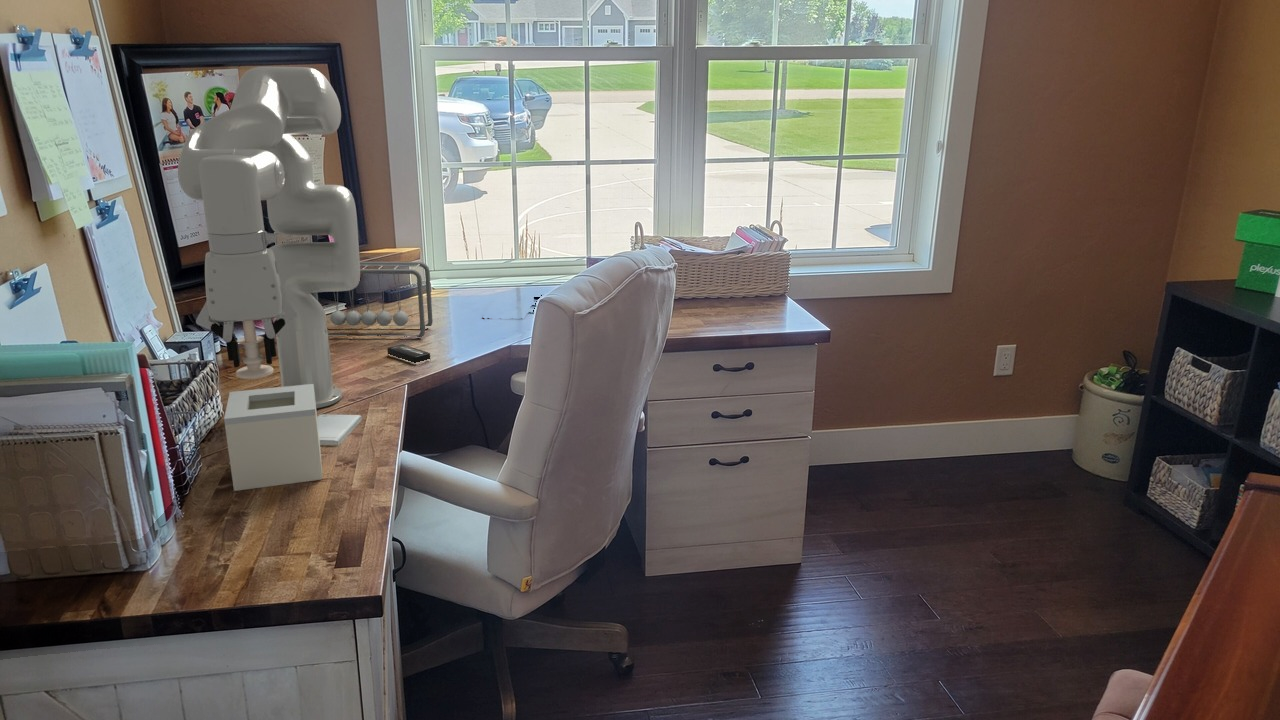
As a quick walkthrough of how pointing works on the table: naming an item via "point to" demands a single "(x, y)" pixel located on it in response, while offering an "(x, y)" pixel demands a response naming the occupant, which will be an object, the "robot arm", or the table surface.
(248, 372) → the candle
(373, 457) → the table surface
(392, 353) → the multiport hub
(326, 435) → the hard drive
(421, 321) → the newton's cradle
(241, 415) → the drop box
